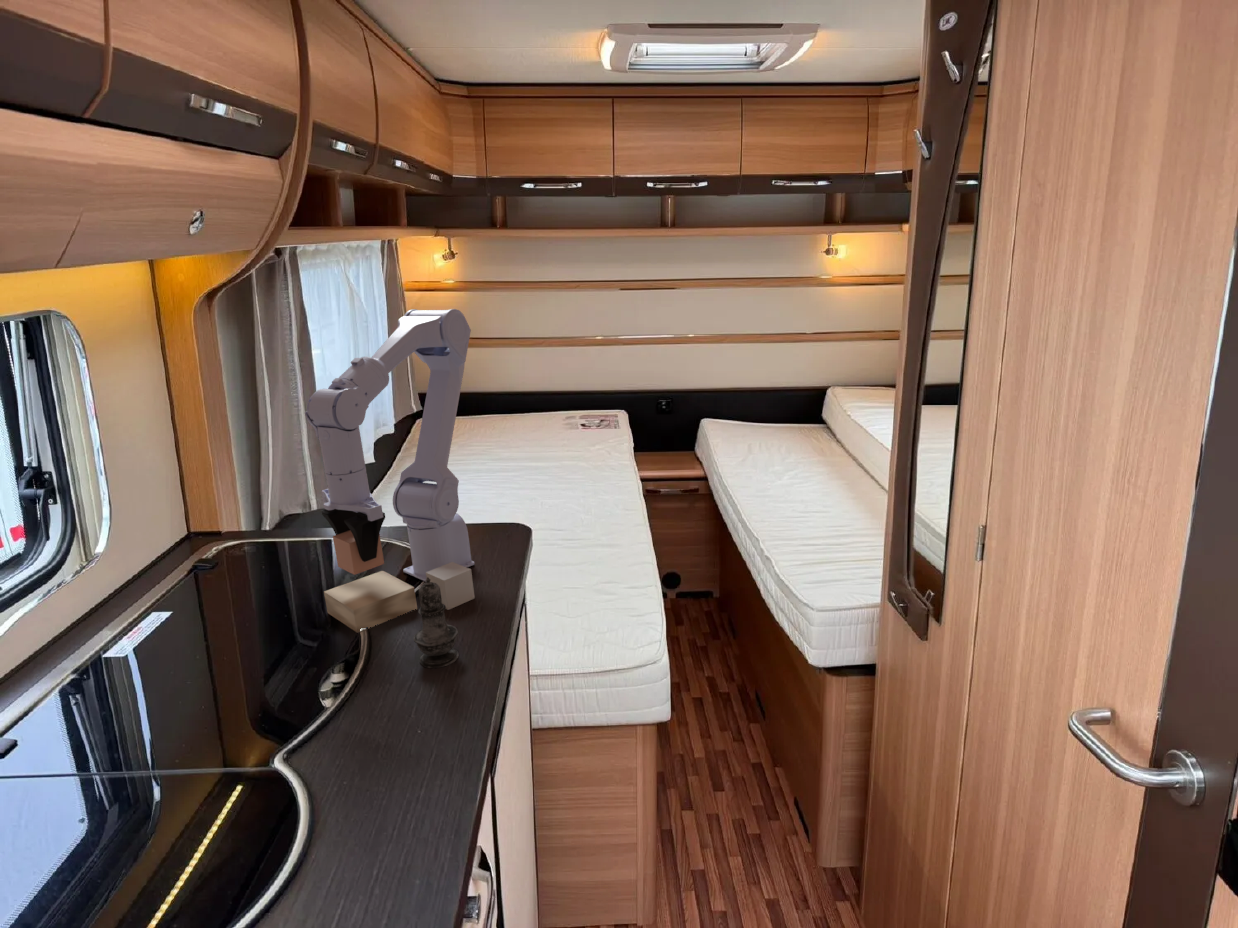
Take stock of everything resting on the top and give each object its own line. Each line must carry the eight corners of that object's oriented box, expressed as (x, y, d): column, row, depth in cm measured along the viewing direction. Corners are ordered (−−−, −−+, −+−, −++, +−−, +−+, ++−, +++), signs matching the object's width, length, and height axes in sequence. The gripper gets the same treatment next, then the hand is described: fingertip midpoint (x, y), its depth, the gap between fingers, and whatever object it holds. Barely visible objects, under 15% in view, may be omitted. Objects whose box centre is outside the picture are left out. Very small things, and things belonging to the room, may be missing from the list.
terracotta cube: (367, 556, 134) (362, 526, 133) (384, 563, 131) (379, 533, 130) (338, 566, 131) (332, 536, 130) (354, 574, 128) (349, 543, 126)
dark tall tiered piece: (408, 664, 117) (395, 583, 113) (436, 644, 122) (424, 565, 118) (442, 672, 114) (430, 589, 110) (469, 651, 119) (459, 571, 115)
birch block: (386, 593, 140) (382, 570, 139) (417, 610, 133) (414, 587, 132) (328, 615, 134) (323, 591, 133) (357, 634, 127) (353, 610, 126)
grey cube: (456, 590, 139) (452, 561, 137) (474, 598, 135) (471, 569, 134) (429, 601, 135) (425, 572, 134) (448, 610, 132) (444, 580, 131)
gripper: (297, 468, 129) (312, 552, 133) (344, 485, 119) (360, 575, 123) (340, 456, 134) (354, 538, 138) (389, 472, 124) (403, 559, 128)
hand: (360, 554), depth 131 cm, fingers closed on terracotta cube, 5 cm apart
